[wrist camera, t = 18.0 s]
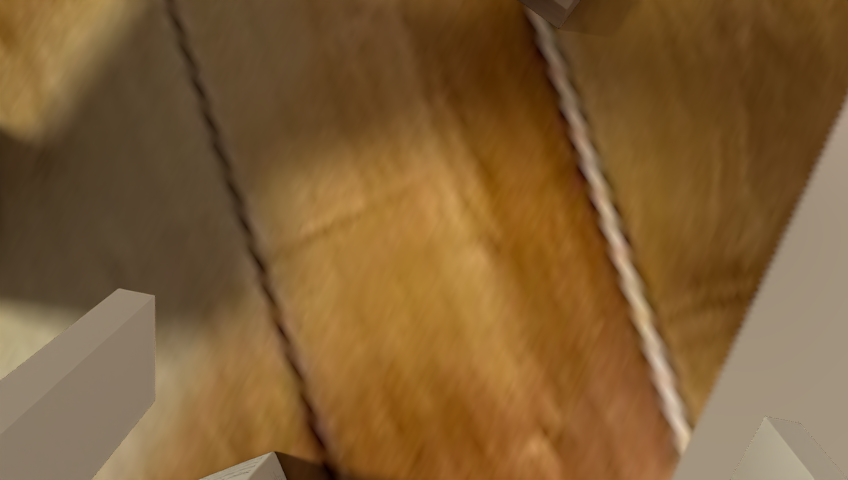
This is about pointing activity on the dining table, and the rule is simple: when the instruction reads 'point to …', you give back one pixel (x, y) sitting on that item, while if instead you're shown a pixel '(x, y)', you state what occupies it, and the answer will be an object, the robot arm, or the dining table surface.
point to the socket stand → (552, 9)
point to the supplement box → (252, 470)
